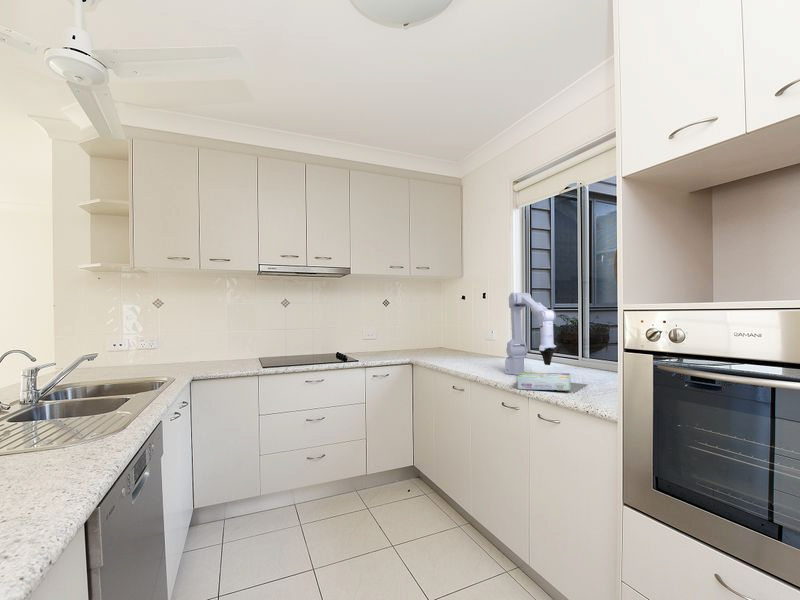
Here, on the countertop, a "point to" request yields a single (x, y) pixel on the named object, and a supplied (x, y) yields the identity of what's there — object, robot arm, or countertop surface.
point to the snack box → (544, 381)
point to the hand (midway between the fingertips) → (547, 364)
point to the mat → (574, 387)
